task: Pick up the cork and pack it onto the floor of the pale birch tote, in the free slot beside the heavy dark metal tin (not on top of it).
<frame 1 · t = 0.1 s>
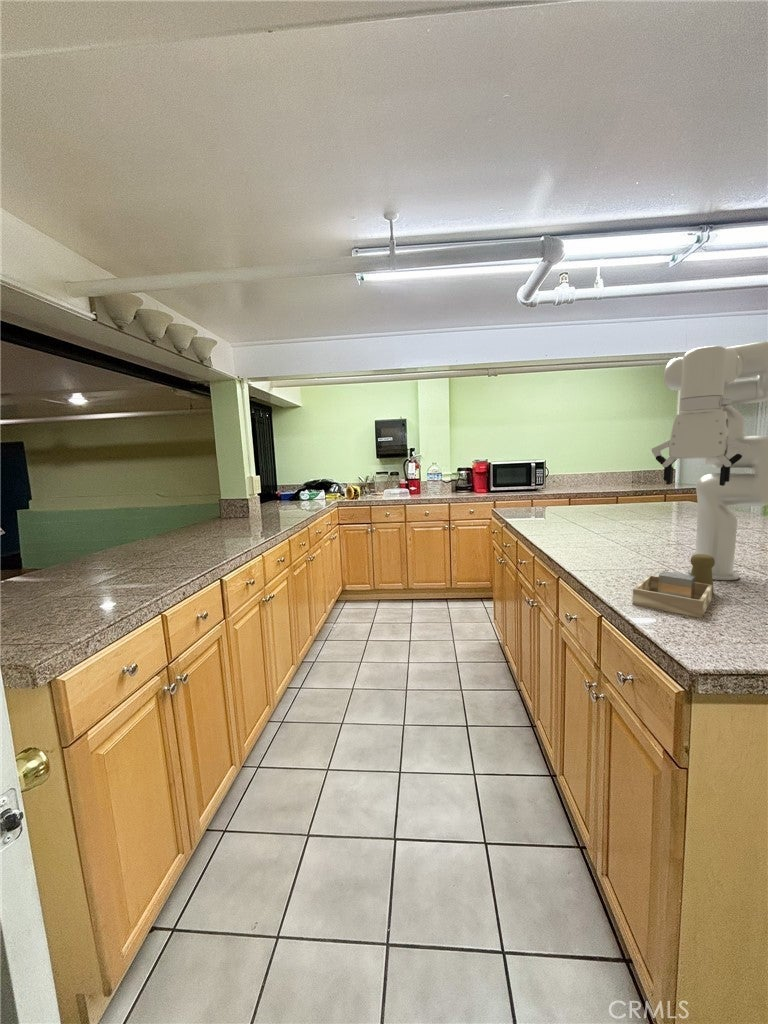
hand: (694, 484, 92), 31 cm above the countertop, fingers open, 9 cm apart
tin: (675, 597, 107), point 1 cm above the countertop, touching tote
cork: (699, 595, 111), on the countertop
tote: (672, 603, 105), on the countertop
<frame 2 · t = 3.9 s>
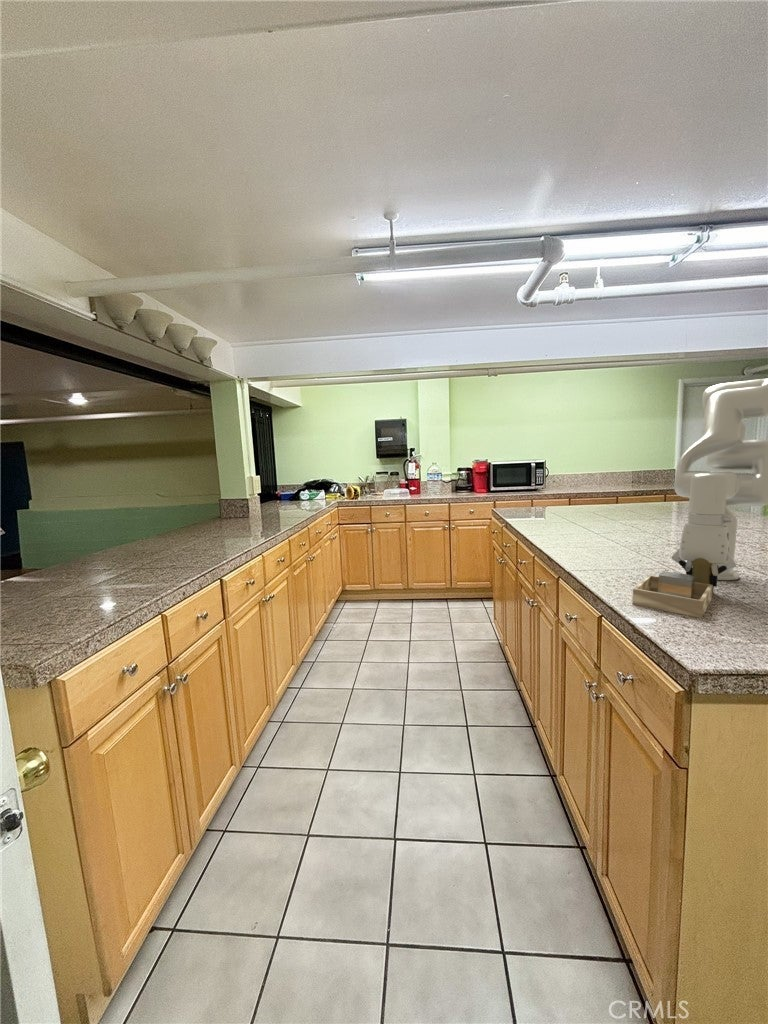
hand: (700, 586, 111), 2 cm above the countertop, fingers closed on cork, 3 cm apart
cork: (699, 595, 111), on the countertop, touching gripper
everything else where it was.
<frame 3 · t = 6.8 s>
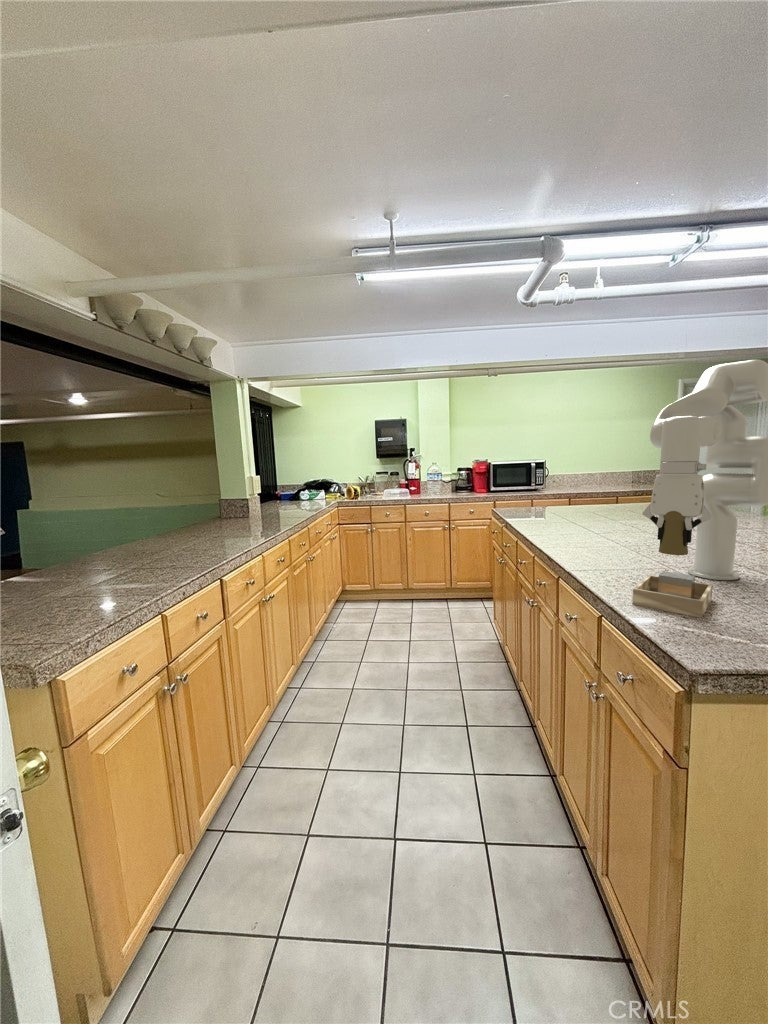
hand: (673, 543, 100), 16 cm above the countertop, fingers closed on cork, 3 cm apart
cork: (673, 553, 101), point 14 cm above the countertop, touching gripper
everything else where it was.
when the fingers open (4 cm above the countertop, at t = 9.5 s): cork drops 1 cm, resting on tote.
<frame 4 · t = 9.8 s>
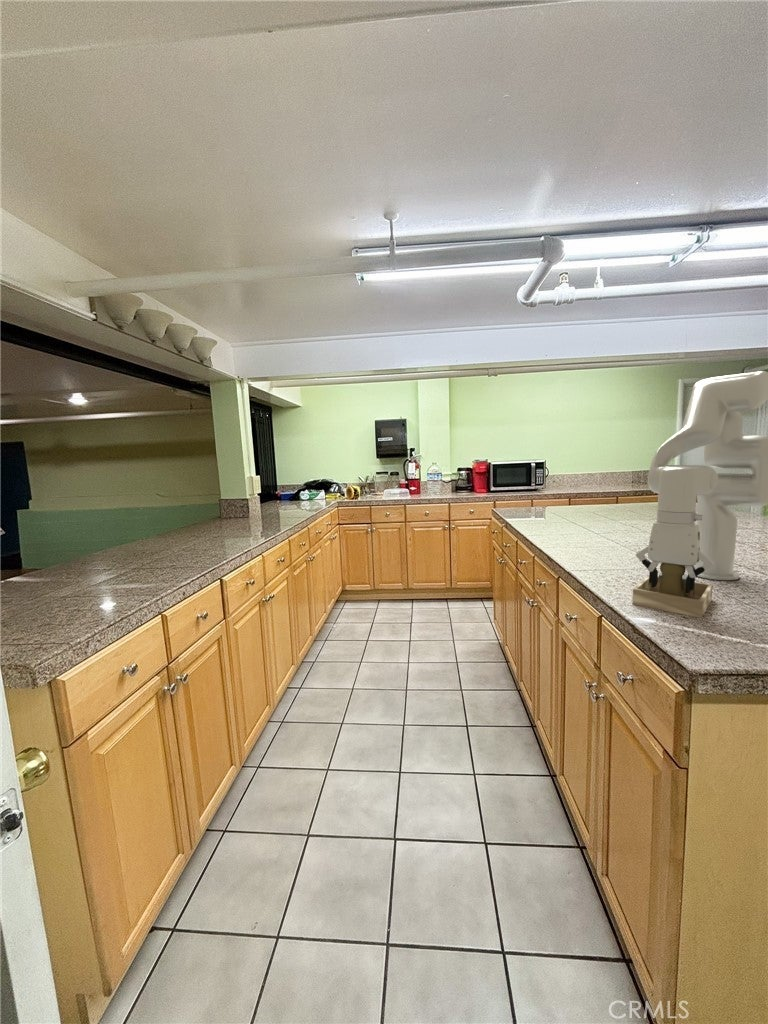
hand: (670, 588, 102), 5 cm above the countertop, fingers open, 6 cm apart
cork: (670, 605, 103), resting on tote
everything else where it was.
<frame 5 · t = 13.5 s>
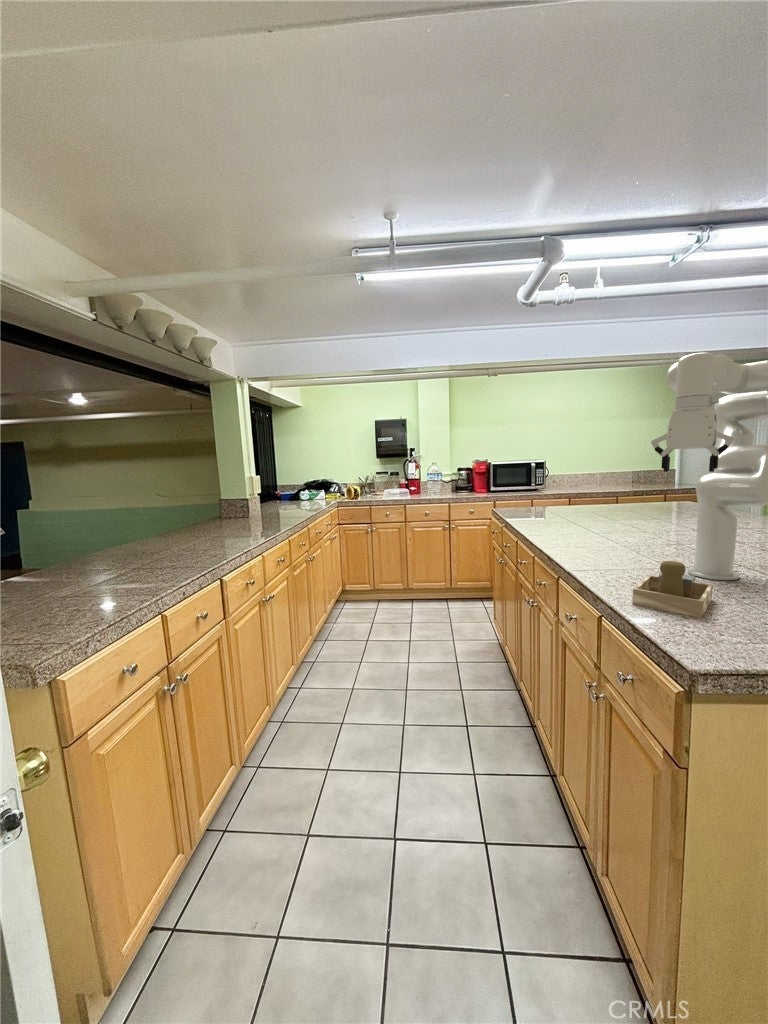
hand: (688, 471, 107), 33 cm above the countertop, fingers open, 9 cm apart
nothing on the countertop moved.
at the end: cork inside the target area on the tote (1.0 cm from its centre), point 0.4 cm above the tote's base; cork tilted 0°; tin moved 0.1 cm from its start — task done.
